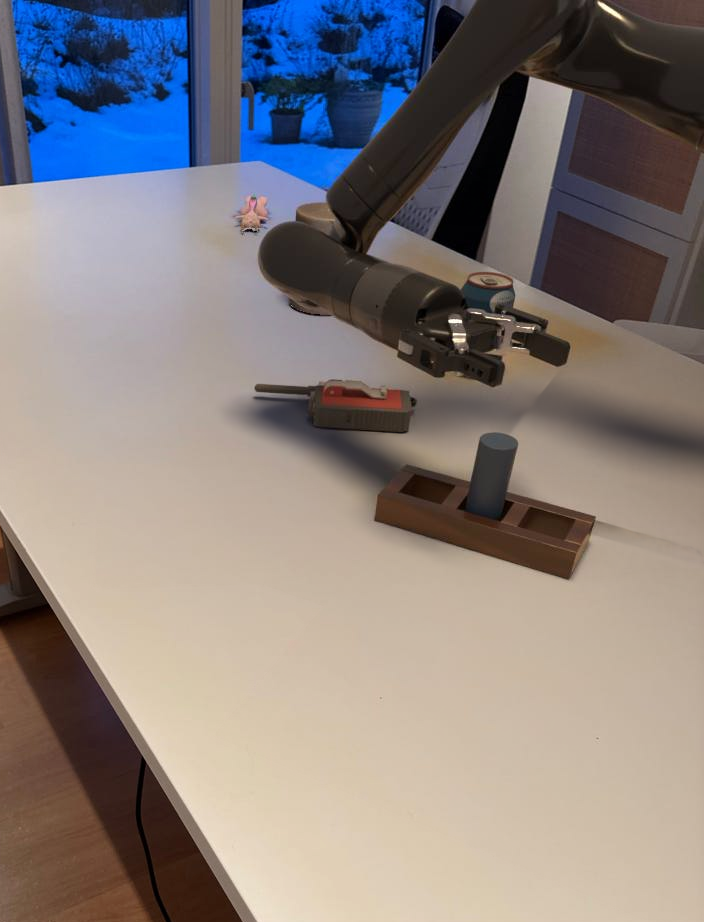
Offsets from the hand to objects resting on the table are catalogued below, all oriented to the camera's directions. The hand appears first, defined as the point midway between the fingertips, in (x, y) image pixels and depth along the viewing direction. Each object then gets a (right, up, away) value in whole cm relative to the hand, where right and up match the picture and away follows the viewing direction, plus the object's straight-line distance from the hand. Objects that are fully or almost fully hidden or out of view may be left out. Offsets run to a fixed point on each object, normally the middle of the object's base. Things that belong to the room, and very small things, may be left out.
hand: (534, 365), depth 84 cm
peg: (-2, -13, +12) cm, 18 cm away
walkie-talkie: (-14, +3, +33) cm, 36 cm away
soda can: (+6, +12, +45) cm, 47 cm away
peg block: (-1, -13, +12) cm, 18 cm away
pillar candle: (-12, +27, +63) cm, 70 cm away
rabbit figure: (-22, +55, +97) cm, 113 cm away
